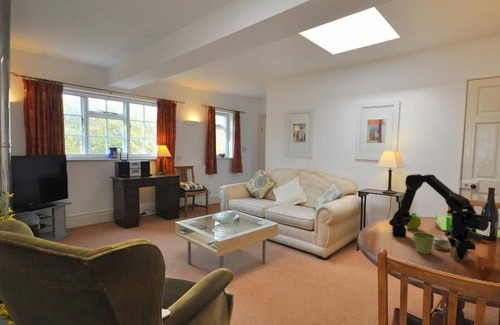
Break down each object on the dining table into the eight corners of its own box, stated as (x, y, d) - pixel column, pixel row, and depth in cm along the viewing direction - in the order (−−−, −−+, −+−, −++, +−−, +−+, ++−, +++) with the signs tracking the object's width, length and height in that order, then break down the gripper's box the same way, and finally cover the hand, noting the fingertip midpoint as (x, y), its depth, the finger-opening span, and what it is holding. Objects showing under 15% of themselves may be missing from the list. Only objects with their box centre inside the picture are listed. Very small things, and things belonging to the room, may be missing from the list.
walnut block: (454, 260, 121) (454, 250, 120) (450, 256, 125) (450, 246, 125) (467, 261, 119) (467, 251, 119) (463, 257, 124) (463, 247, 123)
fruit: (422, 228, 166) (421, 213, 166) (419, 232, 160) (419, 216, 159) (405, 225, 173) (405, 211, 172) (402, 229, 166) (402, 214, 165)
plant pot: (435, 257, 125) (435, 239, 125) (412, 253, 130) (412, 236, 130) (434, 250, 133) (434, 233, 133) (412, 247, 138) (412, 231, 138)
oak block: (434, 248, 135) (434, 239, 135) (431, 244, 140) (431, 235, 140) (448, 250, 133) (448, 240, 132) (444, 245, 138) (444, 236, 138)
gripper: (491, 232, 109) (490, 268, 110) (472, 220, 127) (471, 251, 128) (458, 230, 114) (458, 264, 115) (444, 218, 131) (444, 248, 132)
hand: (458, 256), depth 122 cm, fingers closed on walnut block, 5 cm apart
